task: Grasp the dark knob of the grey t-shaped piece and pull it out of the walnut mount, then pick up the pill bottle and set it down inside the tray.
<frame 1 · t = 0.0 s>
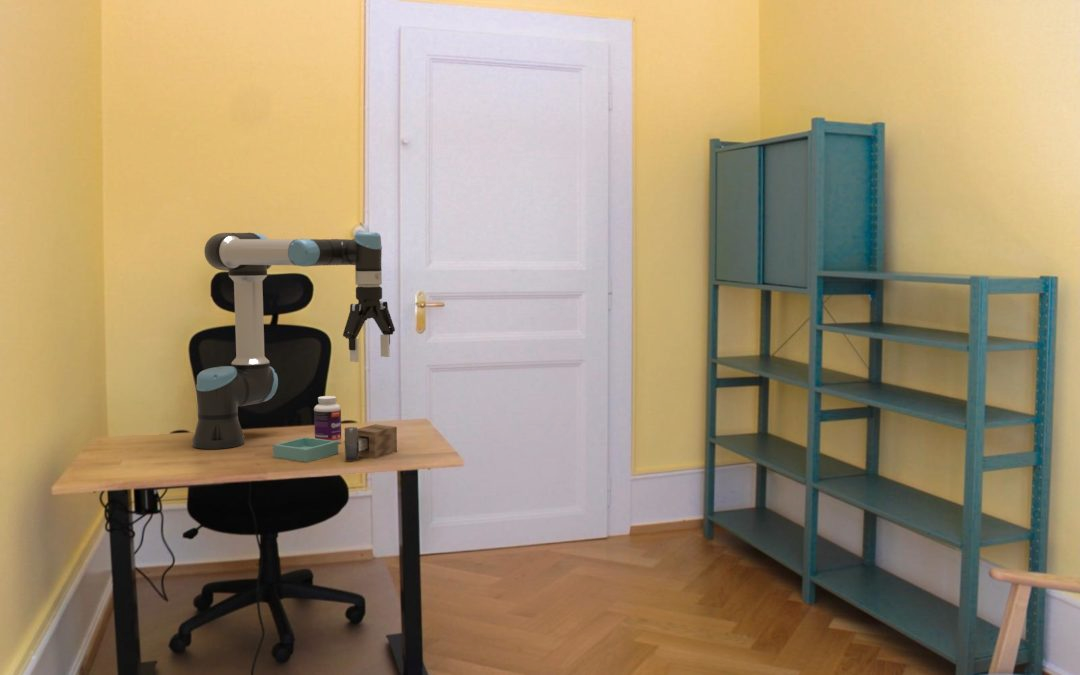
hand: (370, 359, 279), 28 cm above the table, fingers open, 13 cm apart
tray: (306, 455, 279), on the table
grey t-shaped piece: (367, 439, 278), point 5 cm above the table, slide at 0.0 cm
mount: (375, 453, 282), on the table
pill bottle: (328, 444, 296), on the table
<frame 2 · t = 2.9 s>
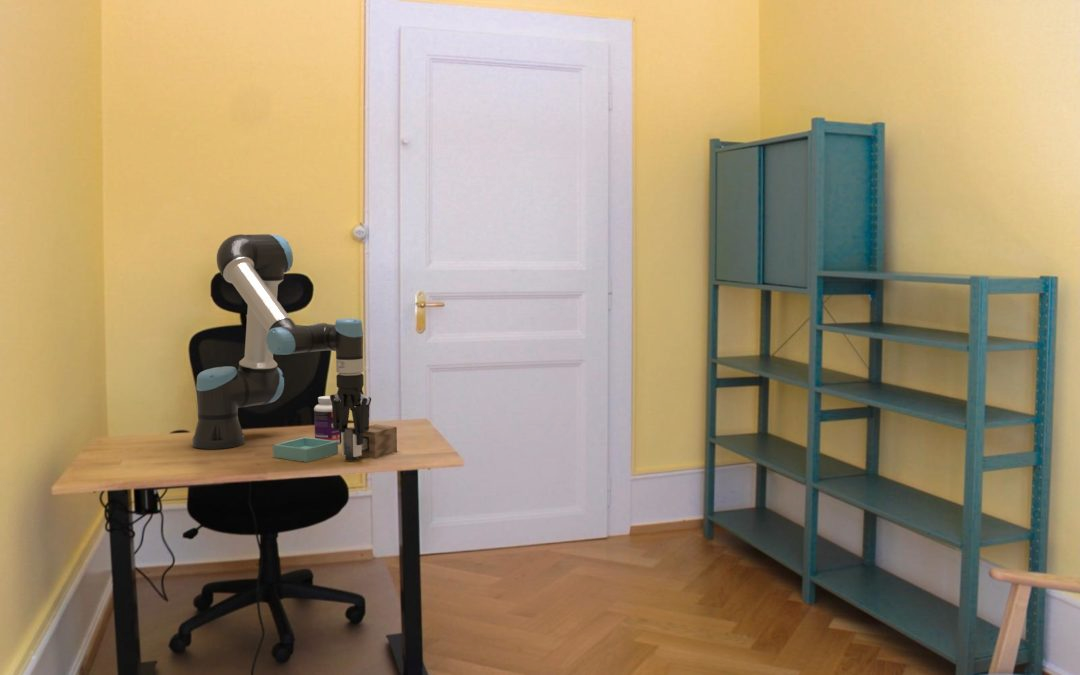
hand: (351, 454, 272), 2 cm above the table, fingers closed on grey t-shaped piece, 4 cm apart
grey t-shaped piece: (367, 439, 278), point 5 cm above the table, slide at 0.0 cm, touching gripper
everything else where it was.
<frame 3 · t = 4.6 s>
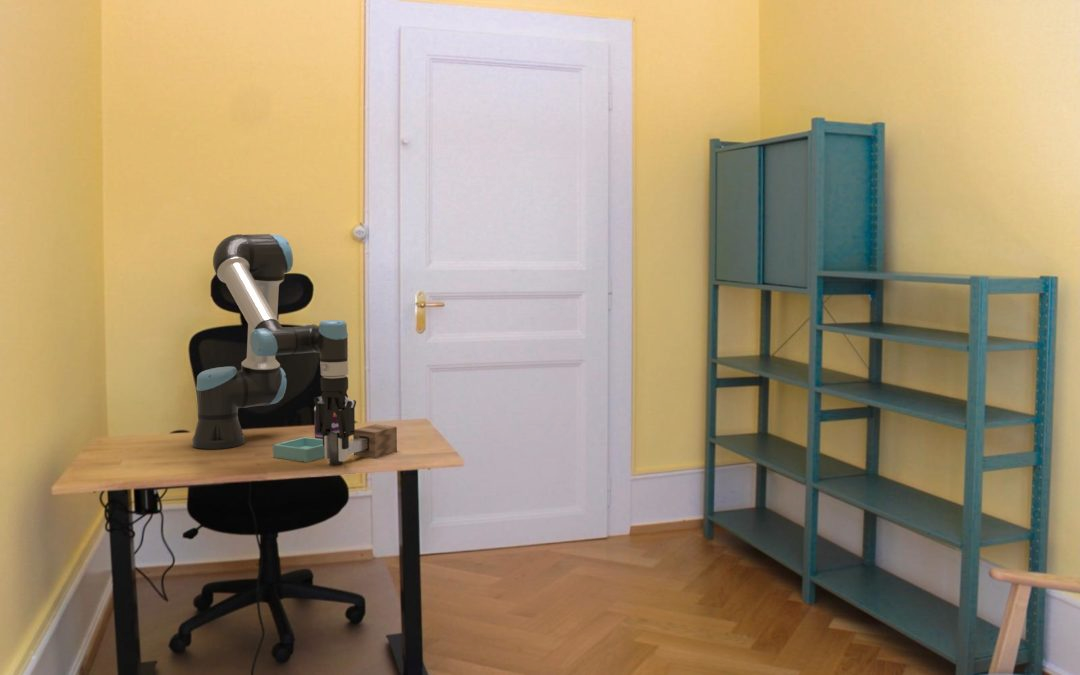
hand: (336, 459, 267), 2 cm above the table, fingers open, 4 cm apart
grey t-shaped piece: (352, 443, 272), point 5 cm above the table, slide at 6.4 cm
everything else where it was.
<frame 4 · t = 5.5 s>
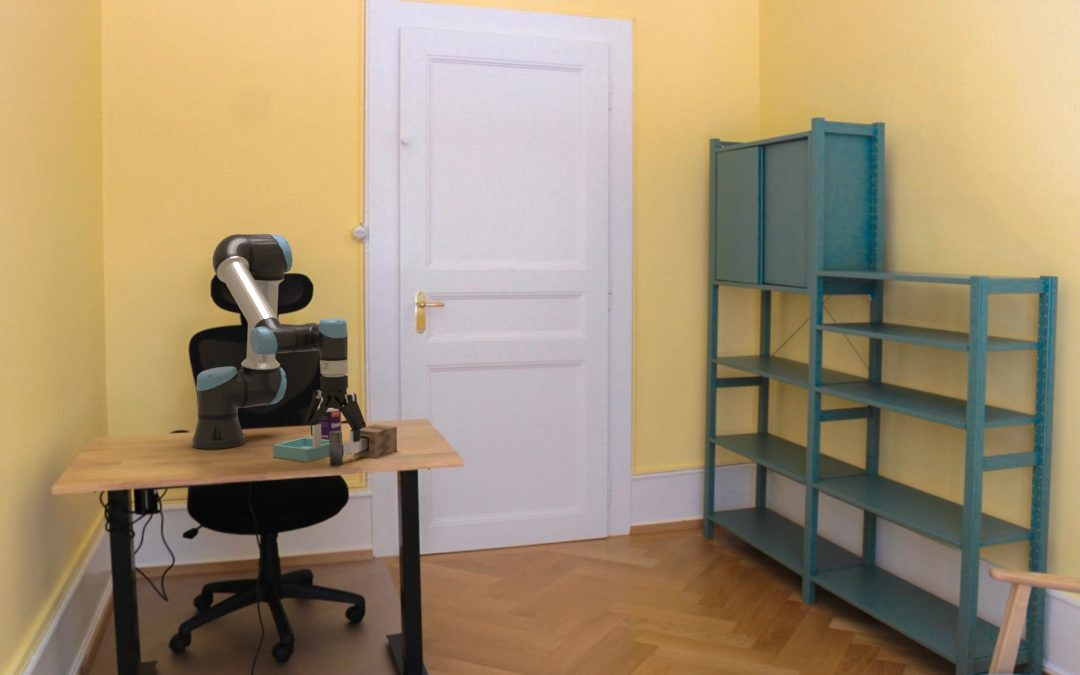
hand: (335, 450, 267), 4 cm above the table, fingers open, 13 cm apart
nothing on the table moved.
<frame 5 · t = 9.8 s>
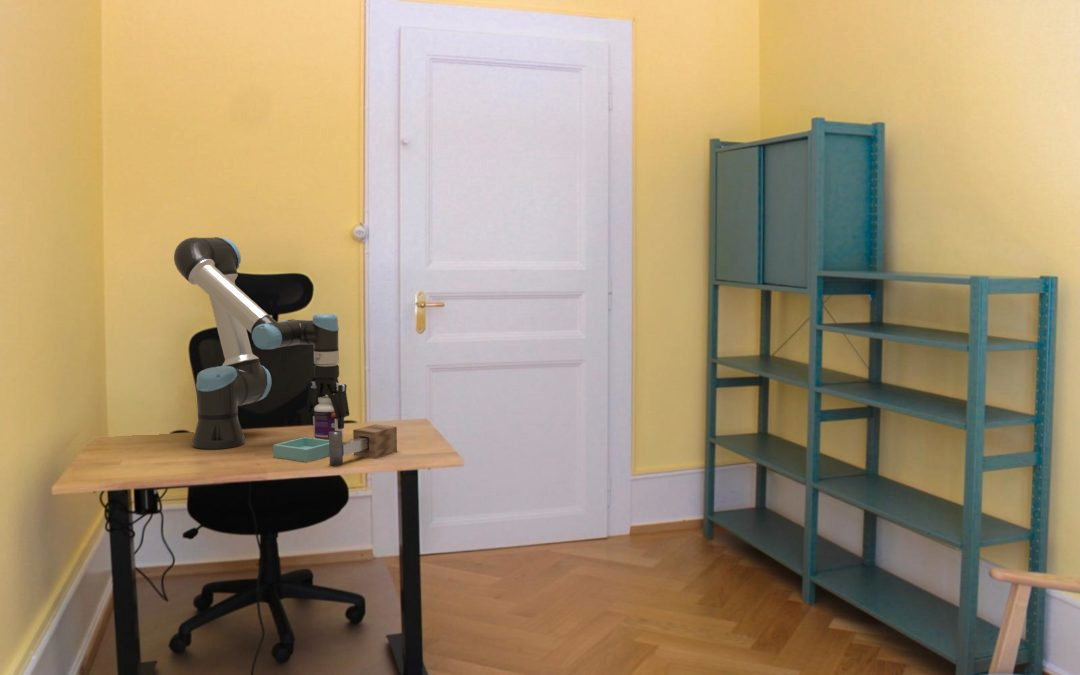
hand: (328, 437, 296), 2 cm above the table, fingers closed on pill bottle, 8 cm apart
pill bottle: (328, 443, 296), on the table, touching gripper
everything else where it was.
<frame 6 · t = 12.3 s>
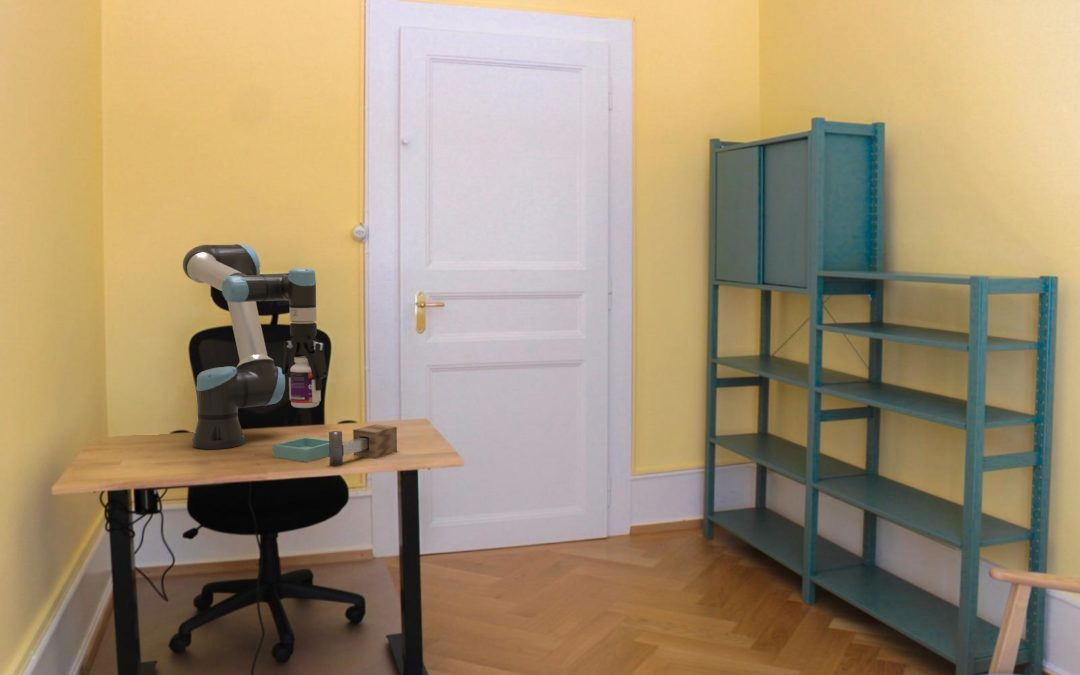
hand: (305, 400, 278), 16 cm above the table, fingers closed on pill bottle, 8 cm apart
pill bottle: (305, 407, 278), point 14 cm above the table, touching gripper
everything else where it was.
when the fingers open (5 cm above the table, at t = 14.8 s): pill bottle drops 2 cm, resting on tray.
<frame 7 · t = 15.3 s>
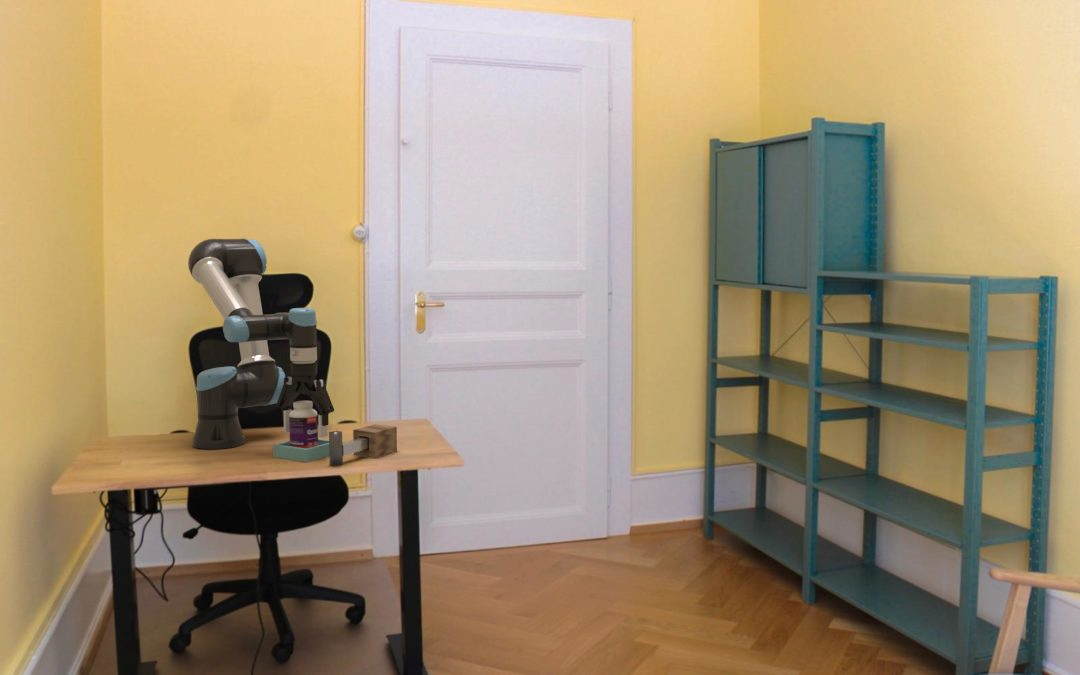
hand: (305, 434, 279), 6 cm above the table, fingers open, 13 cm apart
pill bottle: (304, 451, 279), point 1 cm above the table, touching tray
everything else where it was.
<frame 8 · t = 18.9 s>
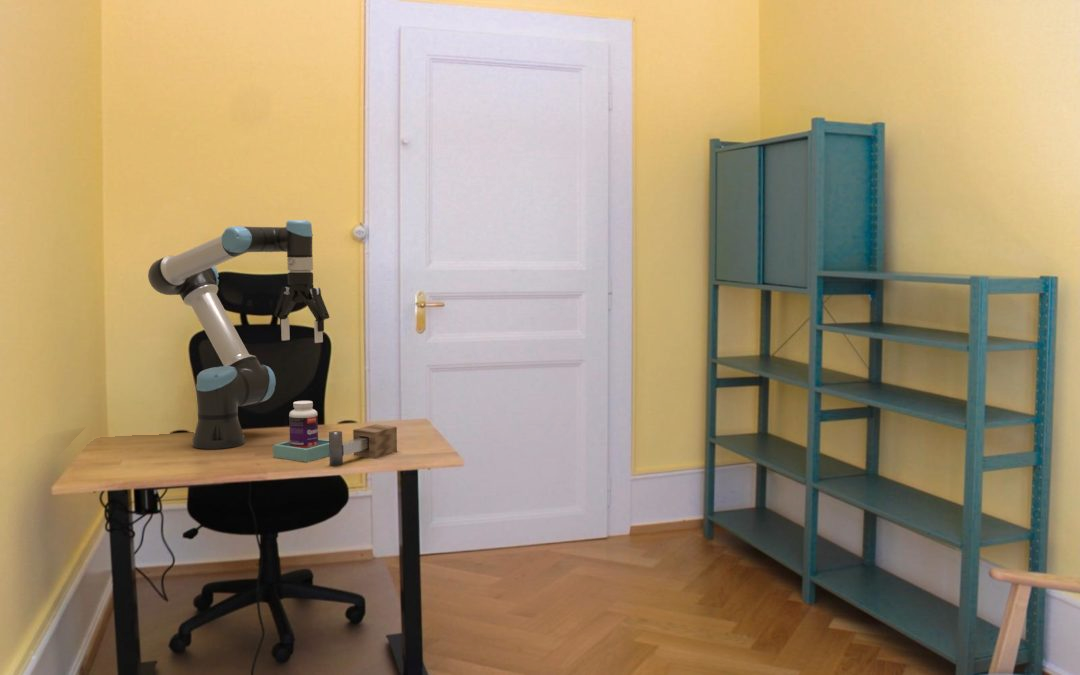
hand: (302, 341, 292), 32 cm above the table, fingers open, 13 cm apart
nothing on the table moved.
at the end: grey t-shaped piece slide at 6.4 cm; pill bottle inside the target area on the tray (0.7 cm from its centre), point 1.0 cm above the tray's base; pill bottle tilted 0° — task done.
